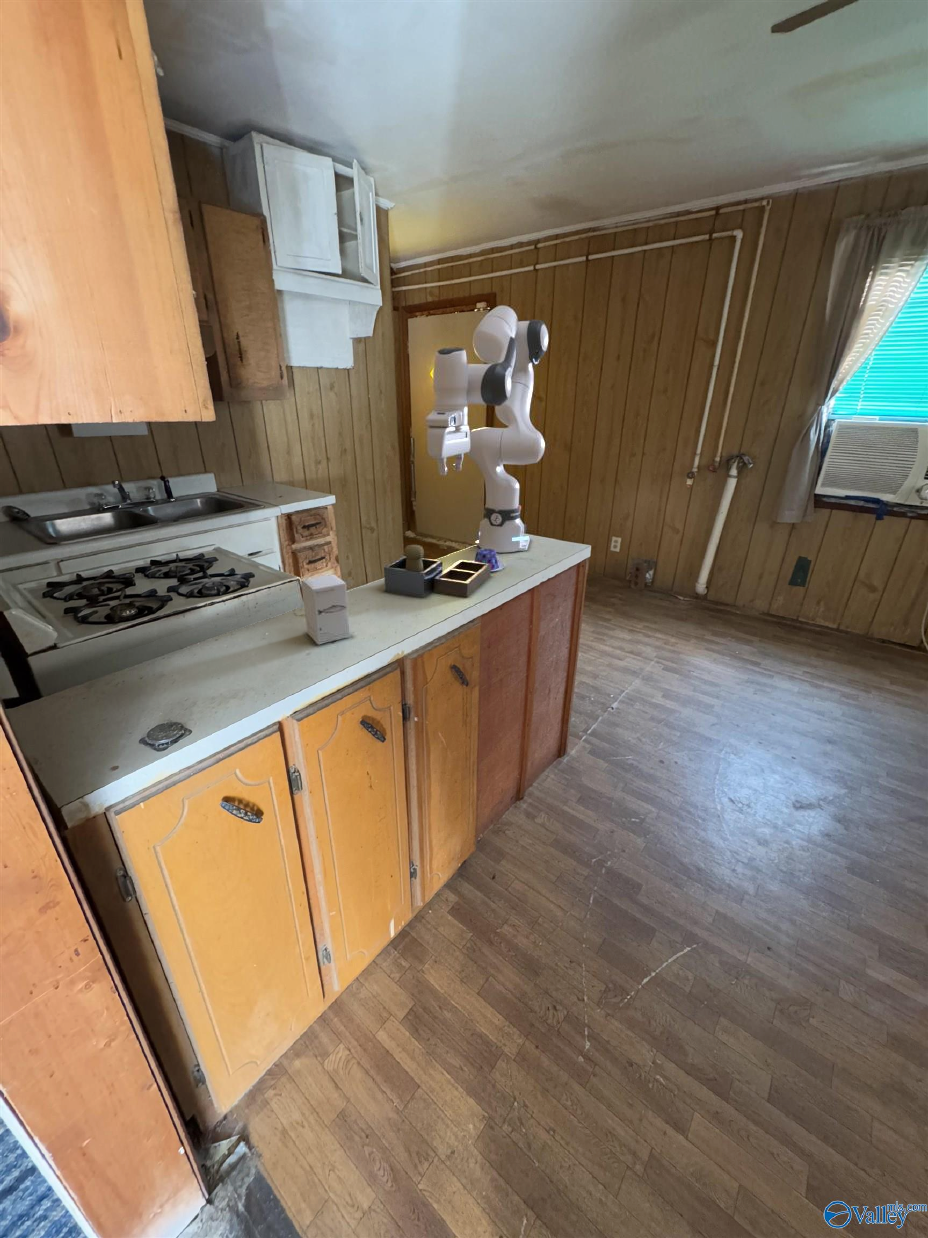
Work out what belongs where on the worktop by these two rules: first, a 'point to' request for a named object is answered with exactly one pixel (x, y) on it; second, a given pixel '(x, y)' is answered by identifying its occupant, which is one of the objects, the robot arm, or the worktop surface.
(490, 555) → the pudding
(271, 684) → the worktop surface
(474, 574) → the divided tray
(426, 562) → the grey open box
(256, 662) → the worktop surface
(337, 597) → the white packaging box
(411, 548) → the cork
